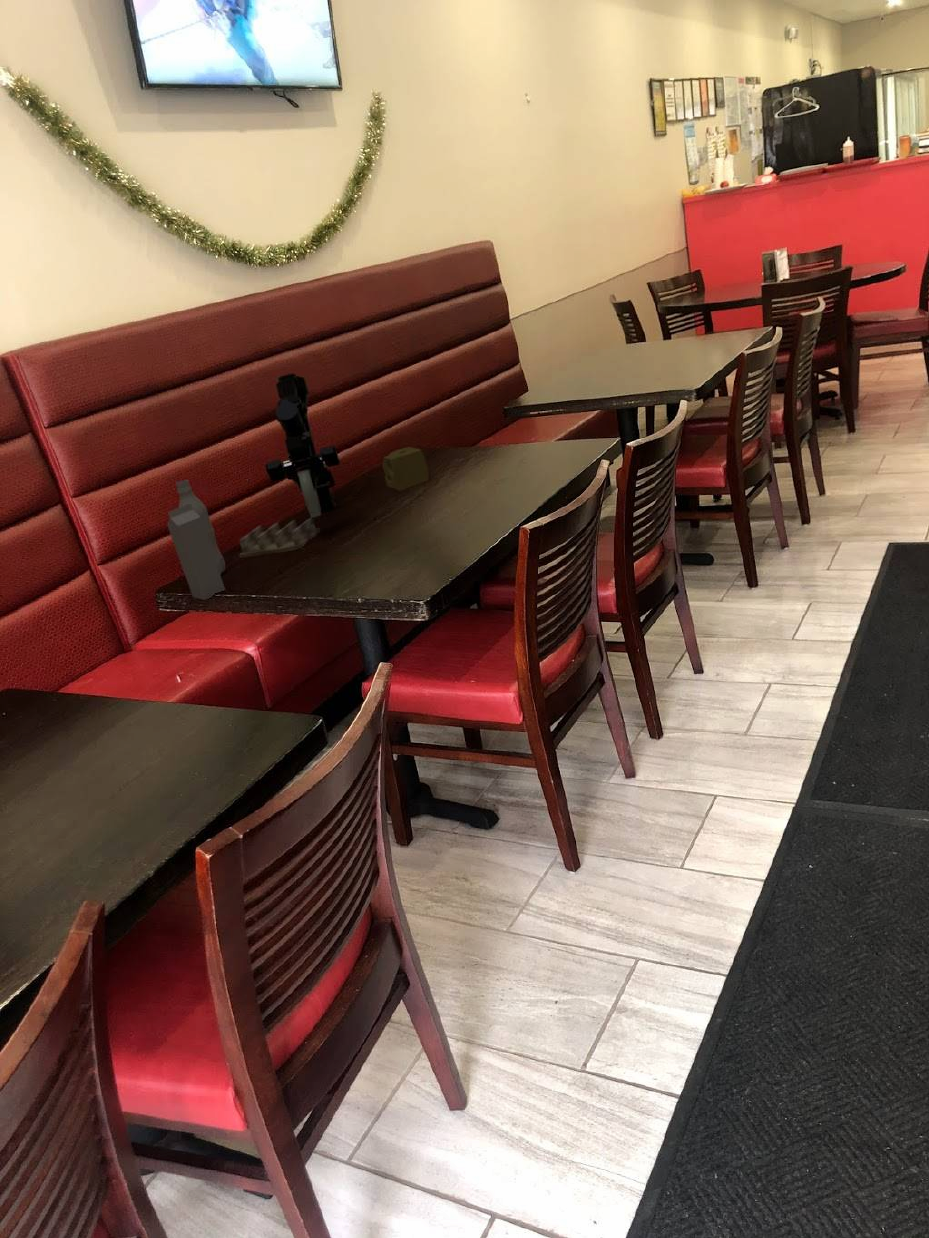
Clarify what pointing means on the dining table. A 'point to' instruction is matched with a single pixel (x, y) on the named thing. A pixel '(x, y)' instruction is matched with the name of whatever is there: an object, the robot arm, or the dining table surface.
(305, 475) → the plate
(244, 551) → the dish rack
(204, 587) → the milk
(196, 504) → the water bottle
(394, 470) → the cheese
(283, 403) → the robot arm
